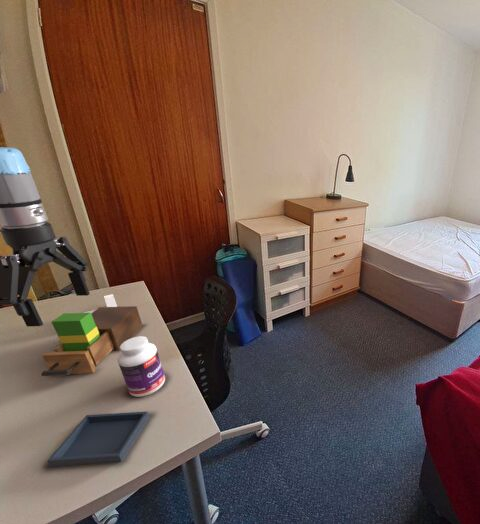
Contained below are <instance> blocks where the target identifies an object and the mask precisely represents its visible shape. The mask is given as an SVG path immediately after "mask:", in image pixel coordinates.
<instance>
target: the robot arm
mask: <svg viewBox="0 0 480 524" xmlns="http://www.w3.org/2000/svg"><path fill="white" fill-rule="evenodd" d="M31 171H32V170H31V167H30V166H29V165H28V163H27V161H26V159H25V156H24V155H23V153H22V151H20V150H19V149H17V148H16V147H10V146H9V147H8V146H1V147H0V234H1V236H2V239H3V241H4V242H5V244H6V245H7V246H8V247H10V248H11V249H12V254H8V255H0V305H12V306H13V308H14V310H15V313H16V315H17V316H19V317H21V318H22V319H23V322H24V325H26V327H42V326H44V323H43V320H42V317H41V316H40V314H39V312H38V309H37V308H36V305H35V303H34V301H33V299H32V298H28V296H29V293H30V289H31V286H32V283H33V281H34V278H35V274H36V272H38V271H39V270H40V268H41V267H44V266H45V265H47V264H50V263H55V264H56V265H58V266H60V267H62V268H63V269H66V270H68V271H70V272H68V273H67V275H68V278H69V280H70V283H71V286H72V287H73V290H74V293H75V295H76V296H77V297H78V296H79V297H83V296H90V295H91V292H90V291H89V288H88V285H87V283H86V281H87V279H86V276H85V273H84V272H87V270H88V268H87V267H88V266H89V262H88V261H87V260H86V259H85V258H84V257H83V256H82V255H81V254H80V253H79V252H78V251H77V250H76V249H75V248H74V246H72V245H71V244H70V242H69V240H68V237H66V236H56V234H55V231H54V229H53V226H52V224H51V223H50V222H48V221H49V217H48V215H47V211H46V209H45V206H44V204H43V200H42V199H41V195H40V193H39V191H38V188H37V185H36V182H35V181H34V177H33V175H32V172H31Z"/></svg>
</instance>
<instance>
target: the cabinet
mask: <svg viewBox="0 0 480 524" xmlns="http://www.w3.org/2000/svg"><path fill="white" fill-rule="evenodd" d="M96 309H97V310H95V309H94V310H95V311H94V312H93V313H91V315H92V317H93V320H94V322H95V325H96V327H97V329H98V331H109V332H110V334H111V337H112V340H113V342H114V345H115V348H114V349H113V350H112V351H111V352H117V351H121V349H120V346H121V344H122V343H123V342H125V341H126V340H128V339H130V338H133V337H135V335H136V334H137V333H138V332H139V331H140V330H141V329H142V328H143V323H142V319H141V316H140V313H139V310H138V306H136V305H135V306H133V305H132V306H117V307H106V306H100V307H98V308H96Z"/></svg>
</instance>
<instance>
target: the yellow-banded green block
mask: <svg viewBox="0 0 480 524" xmlns="http://www.w3.org/2000/svg"><path fill="white" fill-rule="evenodd" d="M51 324H52V327H53V328H54V330H55V333H56V334H57V338H58V340H59V342H60V344H62V346H63V348H64V350H65V352H66V351H88V350H87V347H88V346H90V345H91V344H92V343H93V342H94V341H95V340H96V339H98V338H99V337H100V335H99V331H98V329H97V327H96V325H95V322H94V320H93V317H92V315H91V313H84V312H64V313H62V314H61V315H59V316H57V317H56V318H54V319H53V320H52V321H51Z"/></svg>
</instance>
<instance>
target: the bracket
mask: <svg viewBox="0 0 480 524" xmlns="http://www.w3.org/2000/svg"><path fill="white" fill-rule="evenodd" d="M103 297H104V298H103V299H104V301H105V304H106V306H105V307H118V304H117V301H116V299H115V296H114V294H113V293H110V294H106V295H103ZM97 309H98V308H95V309H92V310H88V311H84V312H83V313H93V312H94V311H95V310H97Z"/></svg>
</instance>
